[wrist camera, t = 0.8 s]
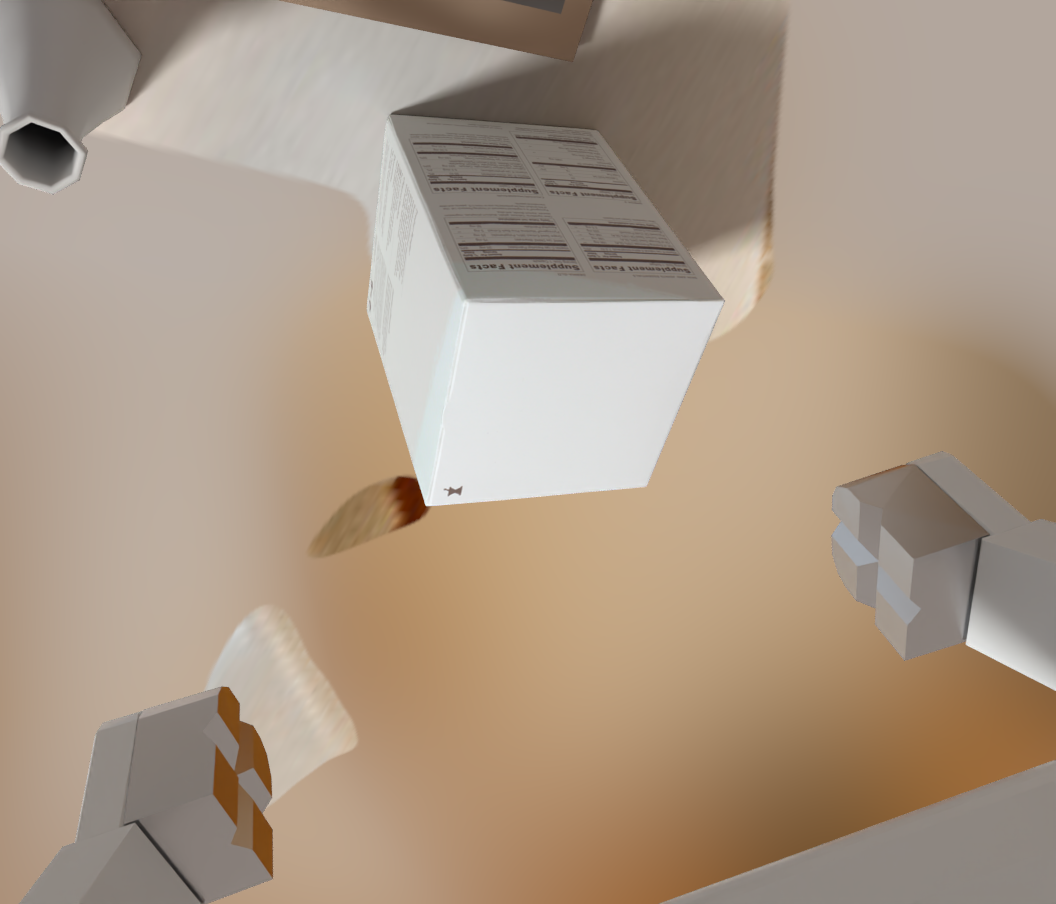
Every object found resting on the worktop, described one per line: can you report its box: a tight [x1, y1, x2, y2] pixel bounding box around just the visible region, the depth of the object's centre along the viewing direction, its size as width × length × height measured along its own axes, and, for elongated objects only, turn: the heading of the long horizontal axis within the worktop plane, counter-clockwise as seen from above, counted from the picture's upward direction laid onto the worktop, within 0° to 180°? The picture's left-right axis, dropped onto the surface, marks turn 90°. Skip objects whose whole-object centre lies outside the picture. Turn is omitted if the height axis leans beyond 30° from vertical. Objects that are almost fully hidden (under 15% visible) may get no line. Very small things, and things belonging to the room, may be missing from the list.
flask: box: [0, 0, 141, 195], centre depth 39 cm, size 7×7×10 cm
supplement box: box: [367, 115, 725, 506], centre depth 49 cm, size 13×13×18 cm
